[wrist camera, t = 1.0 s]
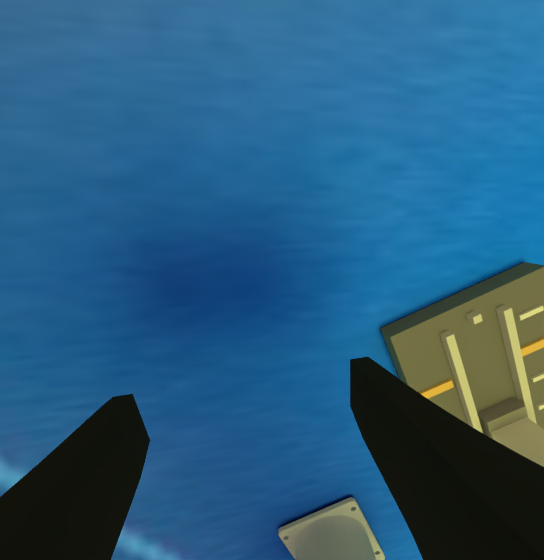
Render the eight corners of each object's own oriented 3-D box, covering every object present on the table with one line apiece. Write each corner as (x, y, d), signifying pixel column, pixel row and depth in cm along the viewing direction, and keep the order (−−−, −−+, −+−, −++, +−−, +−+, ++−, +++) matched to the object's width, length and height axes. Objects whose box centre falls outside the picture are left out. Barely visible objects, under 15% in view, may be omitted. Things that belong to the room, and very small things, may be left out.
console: (556, 430, 24) (583, 449, 22) (438, 480, 25) (455, 504, 23) (524, 262, 20) (555, 267, 18) (380, 328, 20) (394, 341, 18)
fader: (523, 430, 22) (609, 498, 17) (486, 447, 22) (559, 519, 17) (515, 395, 21) (603, 456, 16) (476, 413, 21) (550, 479, 16)
